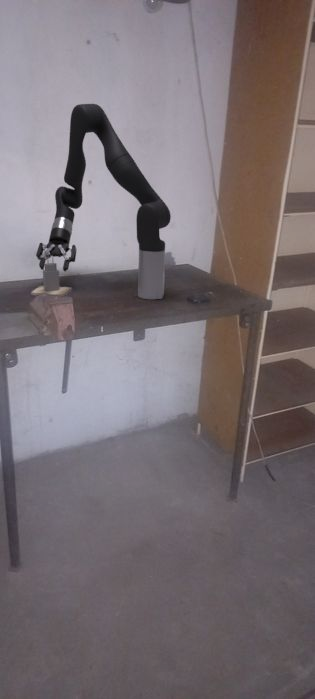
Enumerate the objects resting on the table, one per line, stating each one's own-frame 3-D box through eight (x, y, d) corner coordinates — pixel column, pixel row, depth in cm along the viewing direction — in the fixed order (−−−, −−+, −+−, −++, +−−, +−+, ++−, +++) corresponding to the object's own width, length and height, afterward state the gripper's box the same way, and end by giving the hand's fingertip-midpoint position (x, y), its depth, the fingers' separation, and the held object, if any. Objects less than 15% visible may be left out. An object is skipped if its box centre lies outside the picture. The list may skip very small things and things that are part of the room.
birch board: (71, 290, 194) (71, 287, 194) (63, 297, 185) (63, 294, 184) (40, 287, 195) (40, 285, 195) (31, 295, 186) (30, 292, 186)
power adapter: (60, 290, 190) (59, 257, 185) (45, 291, 187) (44, 258, 183) (57, 287, 192) (56, 255, 188) (43, 289, 190) (41, 256, 185)
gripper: (40, 225, 193) (31, 262, 187) (77, 227, 192) (69, 265, 185) (45, 237, 200) (37, 273, 194) (81, 239, 199) (74, 276, 192)
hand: (53, 269), depth 190 cm, fingers open, 8 cm apart
